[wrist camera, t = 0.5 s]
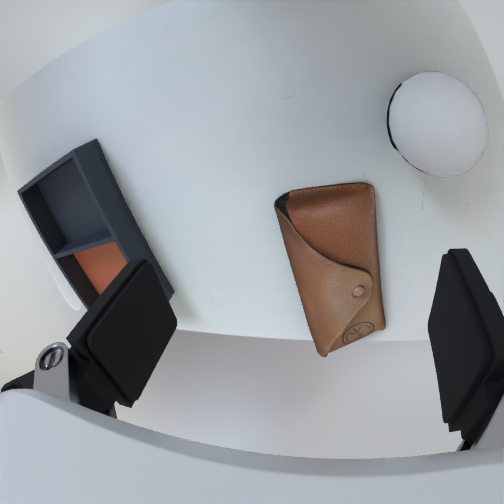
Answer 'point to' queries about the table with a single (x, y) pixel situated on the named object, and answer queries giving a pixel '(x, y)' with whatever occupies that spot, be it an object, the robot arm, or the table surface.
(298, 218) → the sunglasses case
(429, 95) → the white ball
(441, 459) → the robot arm
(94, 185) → the tray
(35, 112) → the table surface
